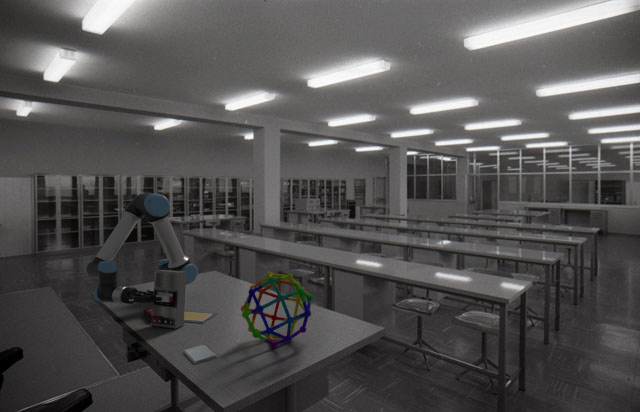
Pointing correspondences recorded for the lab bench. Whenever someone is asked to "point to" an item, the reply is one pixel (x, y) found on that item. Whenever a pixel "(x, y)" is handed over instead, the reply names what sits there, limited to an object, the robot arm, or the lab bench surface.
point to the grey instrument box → (175, 289)
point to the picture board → (197, 316)
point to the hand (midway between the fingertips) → (170, 298)
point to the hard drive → (199, 354)
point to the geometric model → (289, 320)
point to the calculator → (148, 313)
